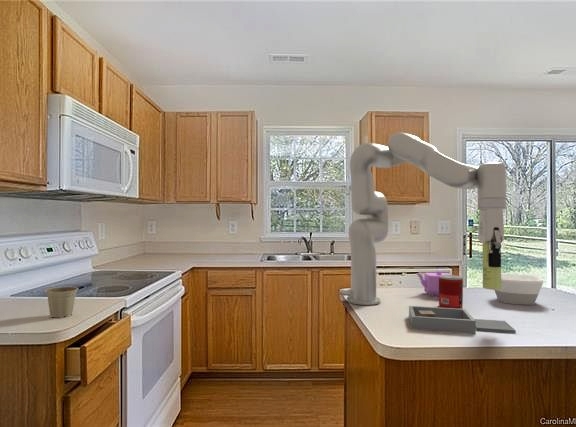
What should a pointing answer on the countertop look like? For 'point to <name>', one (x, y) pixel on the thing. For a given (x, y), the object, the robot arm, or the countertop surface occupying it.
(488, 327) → the trivet
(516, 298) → the bowl
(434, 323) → the bin
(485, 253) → the tube
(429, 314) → the walnut block
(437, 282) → the teapot
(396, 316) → the countertop surface
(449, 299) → the canned food
